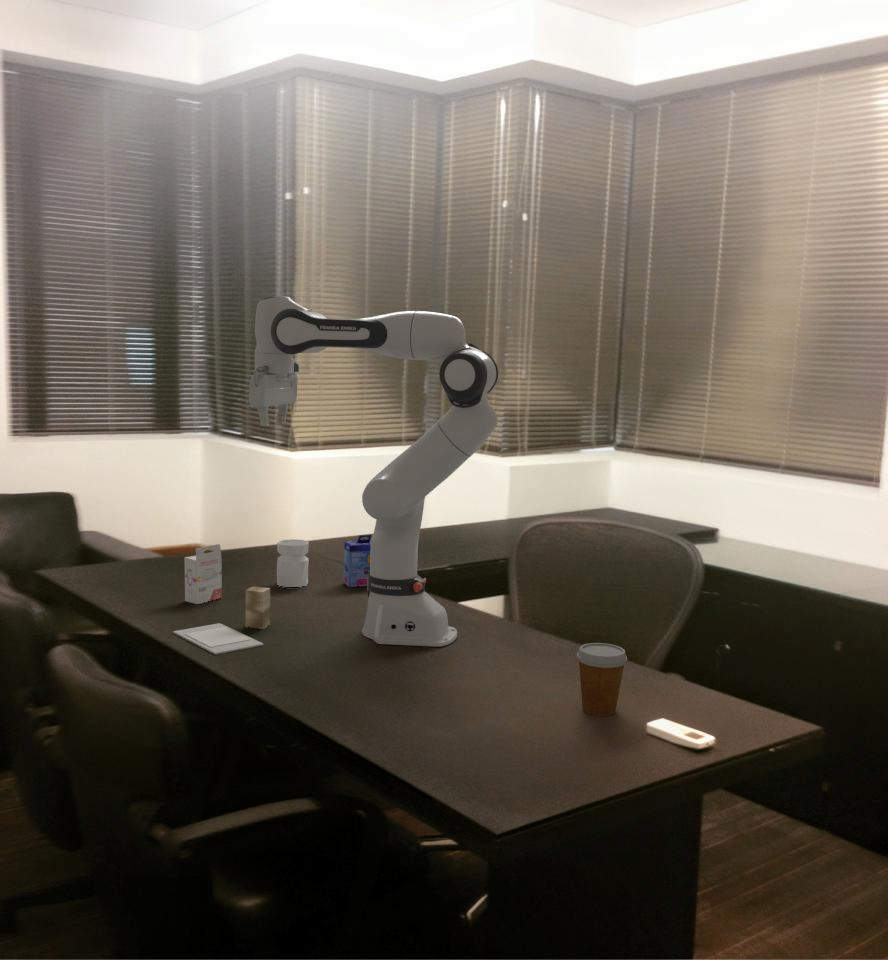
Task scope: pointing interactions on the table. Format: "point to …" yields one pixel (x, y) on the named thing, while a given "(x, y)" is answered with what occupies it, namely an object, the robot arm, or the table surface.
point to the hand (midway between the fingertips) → (273, 424)
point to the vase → (292, 563)
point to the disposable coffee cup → (600, 677)
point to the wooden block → (257, 607)
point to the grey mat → (218, 638)
